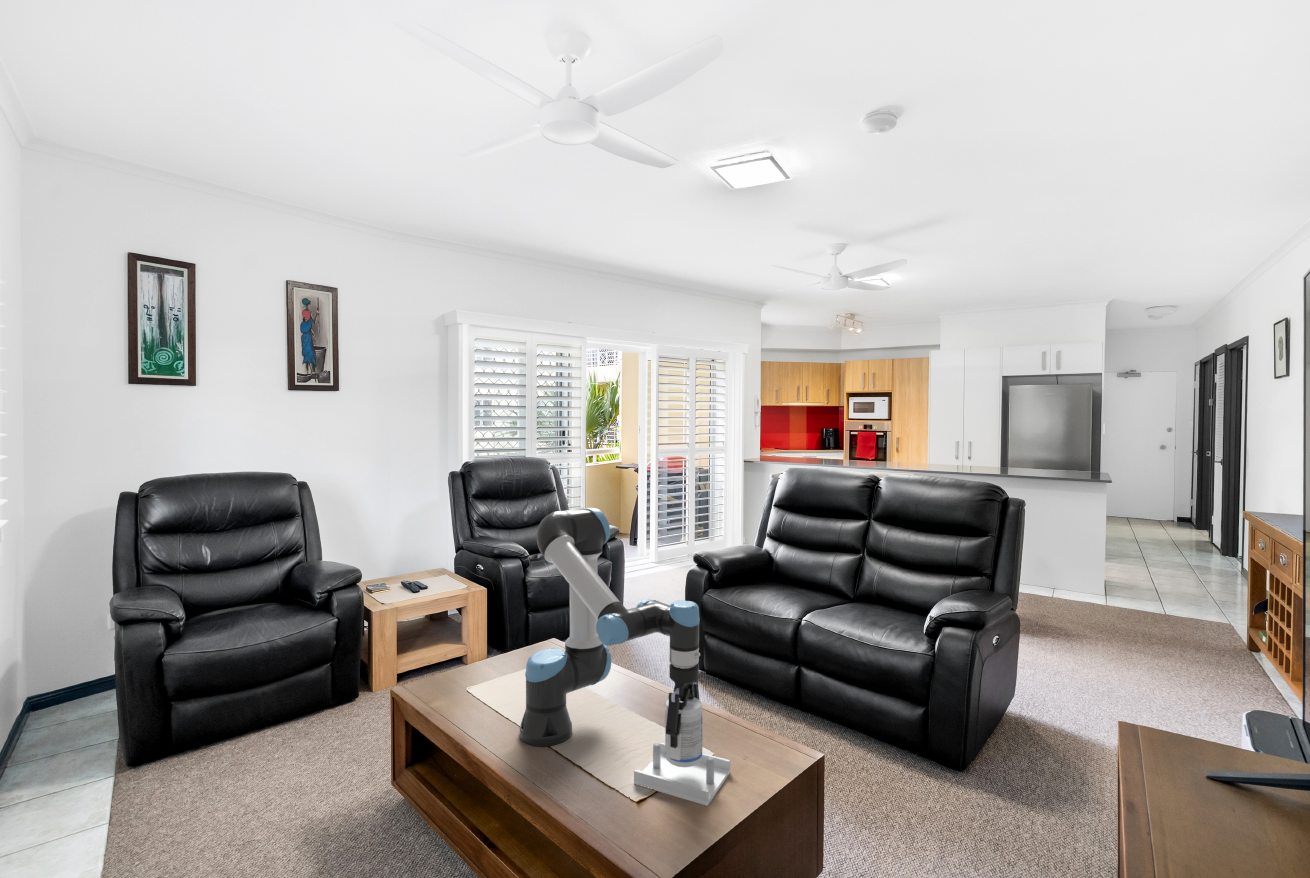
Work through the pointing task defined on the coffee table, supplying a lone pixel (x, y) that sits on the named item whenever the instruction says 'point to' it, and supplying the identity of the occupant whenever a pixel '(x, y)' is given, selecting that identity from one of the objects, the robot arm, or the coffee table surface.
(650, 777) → the tray
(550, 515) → the robot arm
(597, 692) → the coffee table surface
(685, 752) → the supplement tub
